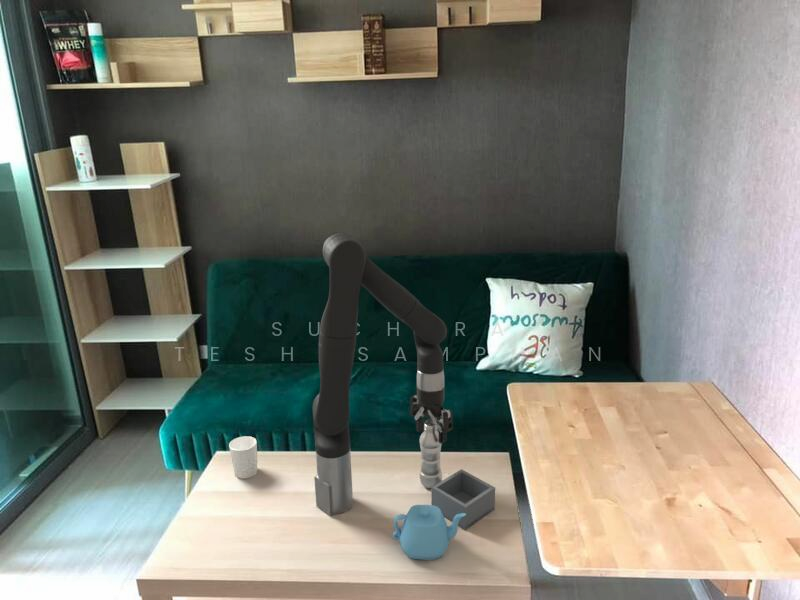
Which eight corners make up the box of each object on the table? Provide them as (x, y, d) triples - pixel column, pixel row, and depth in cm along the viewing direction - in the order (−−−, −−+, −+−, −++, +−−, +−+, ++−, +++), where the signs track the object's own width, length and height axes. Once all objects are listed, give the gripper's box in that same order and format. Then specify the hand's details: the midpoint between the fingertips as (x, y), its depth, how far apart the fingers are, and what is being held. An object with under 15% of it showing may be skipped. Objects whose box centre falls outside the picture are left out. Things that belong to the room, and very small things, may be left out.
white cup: (238, 464, 193) (235, 435, 190) (263, 465, 192) (260, 436, 189) (228, 479, 186) (224, 449, 183) (254, 481, 185) (250, 451, 182)
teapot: (466, 528, 147) (389, 525, 149) (465, 566, 151) (390, 562, 152) (465, 495, 159) (394, 492, 161) (465, 531, 162) (395, 527, 164)
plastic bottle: (444, 479, 184) (445, 418, 177) (438, 493, 178) (438, 430, 171) (423, 475, 186) (423, 415, 179) (416, 489, 180) (416, 427, 173)
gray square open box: (465, 530, 163) (465, 507, 160) (431, 509, 171) (431, 487, 169) (494, 509, 170) (495, 487, 168) (461, 490, 179) (461, 469, 176)
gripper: (402, 380, 174) (403, 432, 179) (440, 397, 164) (440, 451, 169) (421, 372, 179) (422, 422, 184) (459, 387, 169) (459, 441, 174)
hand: (431, 436), depth 177 cm, fingers open, 8 cm apart
